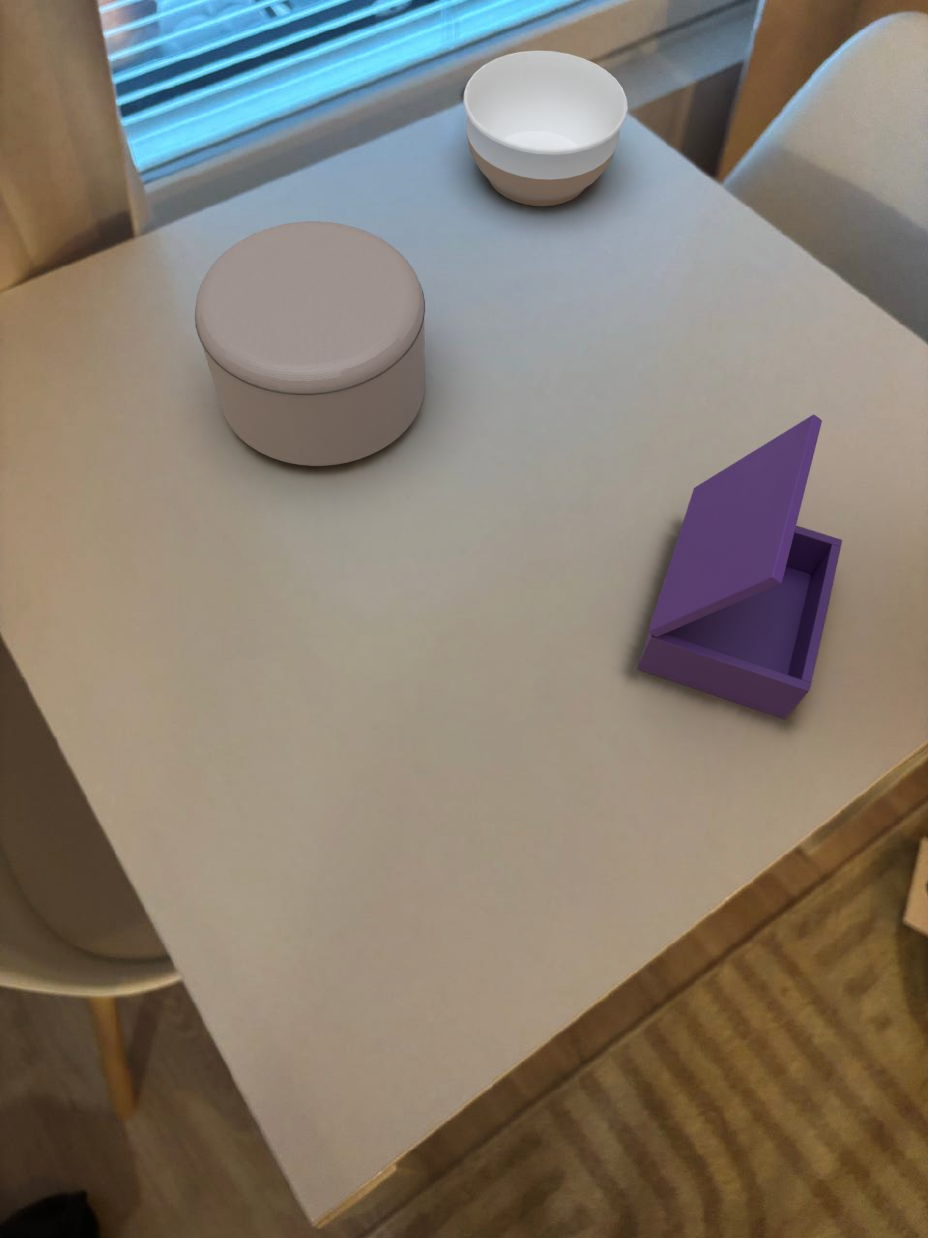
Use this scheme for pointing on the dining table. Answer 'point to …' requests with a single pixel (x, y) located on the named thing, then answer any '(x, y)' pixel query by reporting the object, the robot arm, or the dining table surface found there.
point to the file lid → (738, 530)
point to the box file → (757, 636)
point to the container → (314, 341)
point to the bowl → (543, 124)
